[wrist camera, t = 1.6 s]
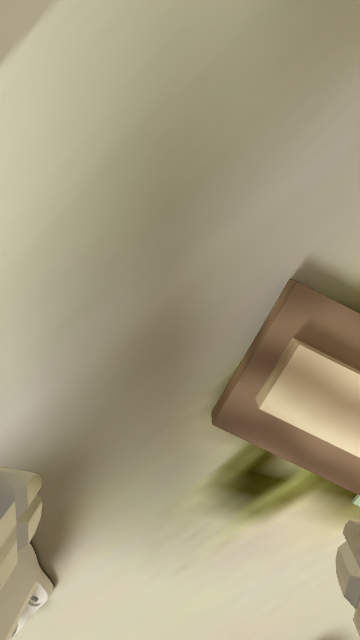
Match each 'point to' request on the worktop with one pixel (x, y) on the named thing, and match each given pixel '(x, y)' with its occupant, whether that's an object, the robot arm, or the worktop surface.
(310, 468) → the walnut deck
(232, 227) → the worktop surface
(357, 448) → the birch tile
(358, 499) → the green mat
